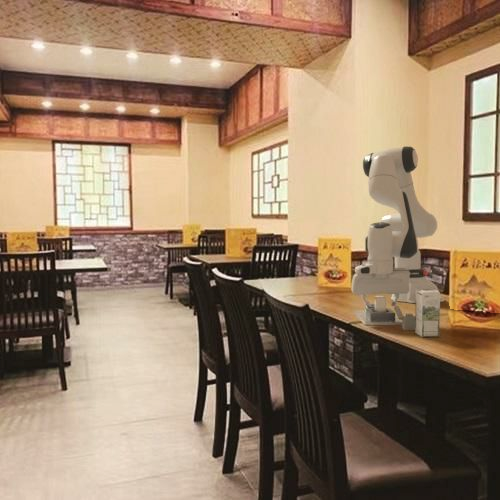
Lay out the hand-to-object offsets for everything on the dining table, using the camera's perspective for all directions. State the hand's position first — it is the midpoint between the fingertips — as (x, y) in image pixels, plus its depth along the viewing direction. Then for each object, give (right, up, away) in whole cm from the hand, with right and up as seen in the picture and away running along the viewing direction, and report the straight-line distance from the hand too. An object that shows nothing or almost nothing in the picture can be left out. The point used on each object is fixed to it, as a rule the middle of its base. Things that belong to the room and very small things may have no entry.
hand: (380, 306), depth 177 cm
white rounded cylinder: (0, -5, 0) cm, 5 cm away
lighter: (+5, -7, -12) cm, 15 cm away
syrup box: (+9, -7, -21) cm, 24 cm away
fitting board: (0, -5, +6) cm, 8 cm away
